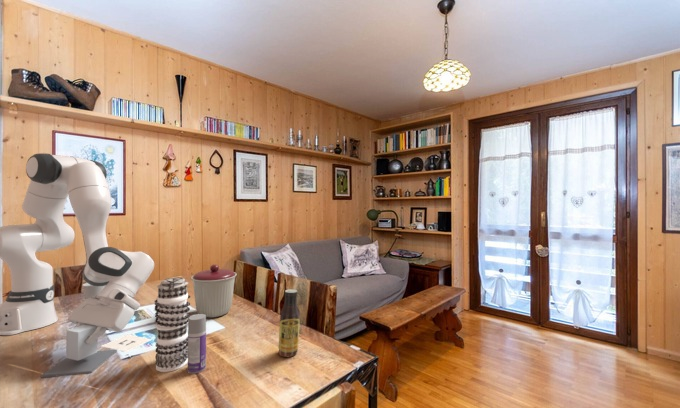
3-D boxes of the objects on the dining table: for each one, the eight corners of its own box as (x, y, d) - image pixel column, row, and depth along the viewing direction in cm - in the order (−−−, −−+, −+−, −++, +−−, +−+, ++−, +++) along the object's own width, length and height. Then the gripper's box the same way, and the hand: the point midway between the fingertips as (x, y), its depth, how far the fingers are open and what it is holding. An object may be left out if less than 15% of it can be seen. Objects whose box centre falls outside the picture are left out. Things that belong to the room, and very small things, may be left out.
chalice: (92, 337, 102) (92, 286, 102) (77, 335, 104) (77, 285, 104) (112, 329, 110) (112, 281, 110) (97, 327, 111) (98, 280, 111)
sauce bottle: (279, 359, 89) (279, 294, 89) (277, 349, 95) (278, 288, 95) (300, 356, 91) (301, 292, 91) (298, 347, 97) (298, 287, 97)
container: (201, 362, 87) (201, 312, 87) (208, 368, 84) (209, 316, 84) (184, 369, 83) (185, 317, 83) (192, 375, 80) (192, 321, 80)
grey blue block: (66, 357, 84) (66, 330, 84) (85, 349, 89) (86, 323, 89) (78, 360, 82) (78, 332, 82) (97, 352, 87) (97, 325, 87)
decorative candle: (157, 359, 89) (158, 276, 89) (191, 353, 92) (192, 274, 92) (150, 375, 80) (150, 284, 80) (187, 369, 83) (188, 281, 83)
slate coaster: (41, 377, 79) (41, 374, 79) (73, 355, 91) (73, 352, 91) (91, 373, 81) (91, 370, 81) (116, 352, 93) (116, 349, 93)
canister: (180, 319, 119) (181, 268, 119) (208, 304, 136) (208, 259, 136) (221, 323, 115) (221, 270, 115) (244, 307, 133) (244, 261, 133)
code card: (100, 346, 96) (100, 346, 96) (127, 335, 105) (127, 334, 105) (126, 352, 92) (126, 351, 92) (152, 339, 101) (152, 339, 101)
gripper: (84, 290, 95) (46, 332, 86) (130, 296, 89) (95, 342, 80) (99, 299, 100) (64, 340, 90) (144, 306, 93) (112, 351, 84)
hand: (79, 341), depth 85 cm, fingers closed on grey blue block, 5 cm apart
